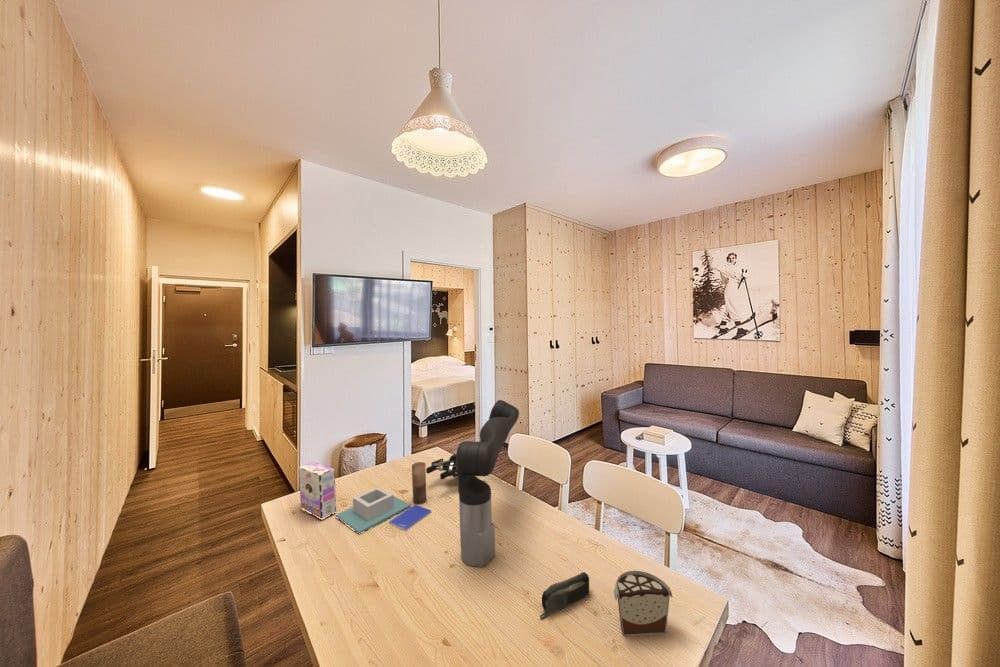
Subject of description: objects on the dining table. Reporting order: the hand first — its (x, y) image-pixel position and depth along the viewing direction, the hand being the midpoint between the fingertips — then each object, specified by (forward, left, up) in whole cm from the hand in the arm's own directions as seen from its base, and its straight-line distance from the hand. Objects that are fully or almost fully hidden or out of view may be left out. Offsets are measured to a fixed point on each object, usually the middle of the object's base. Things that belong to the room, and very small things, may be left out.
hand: (433, 473), depth 135 cm
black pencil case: (-66, +16, -8) cm, 68 cm away
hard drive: (-7, +16, -9) cm, 20 cm away
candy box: (+24, +34, -8) cm, 42 cm away
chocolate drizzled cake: (-82, +10, -8) cm, 83 cm away
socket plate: (+7, +22, -8) cm, 24 cm away
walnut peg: (0, +7, -8) cm, 11 cm away
